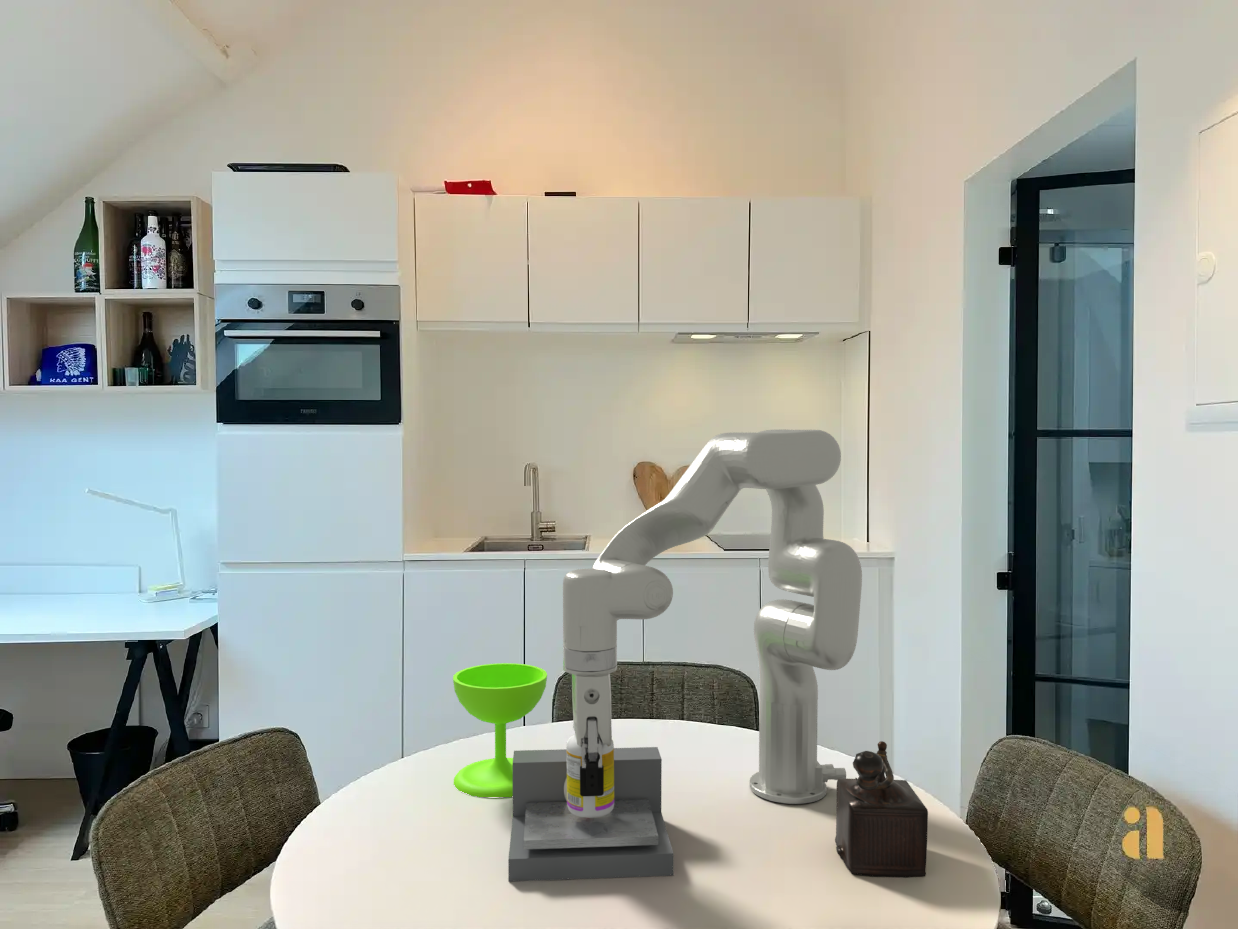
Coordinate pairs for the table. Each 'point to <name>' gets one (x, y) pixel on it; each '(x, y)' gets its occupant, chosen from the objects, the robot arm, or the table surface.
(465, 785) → the wineglass
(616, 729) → the table surface
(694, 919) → the table surface
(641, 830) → the pan
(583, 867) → the scale
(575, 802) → the supplement bottle
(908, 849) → the manual coffee grinder
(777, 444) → the robot arm
